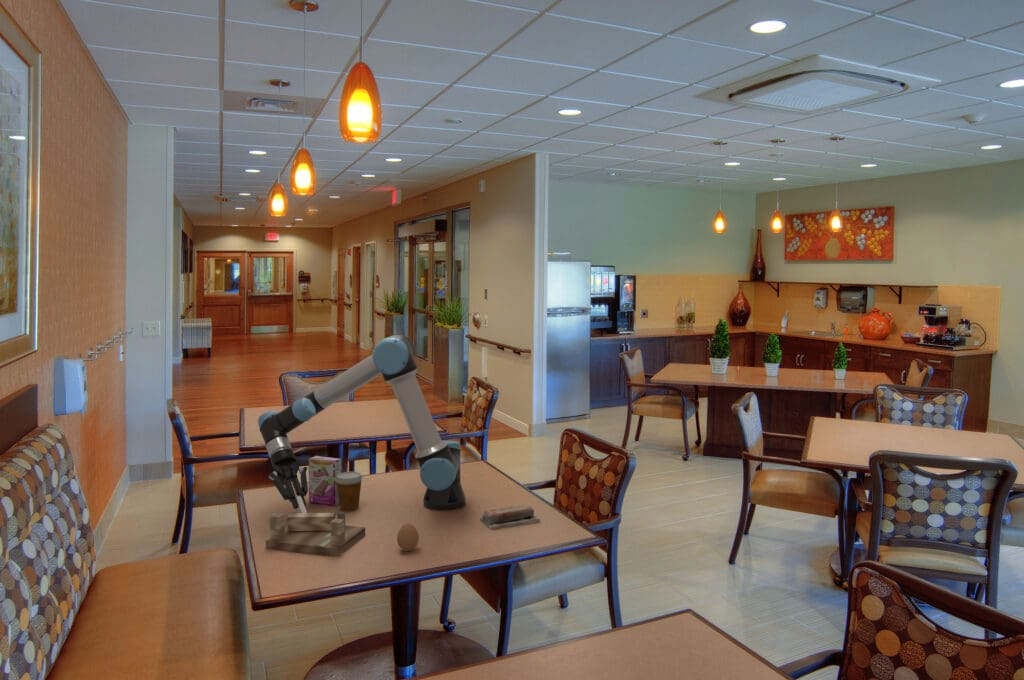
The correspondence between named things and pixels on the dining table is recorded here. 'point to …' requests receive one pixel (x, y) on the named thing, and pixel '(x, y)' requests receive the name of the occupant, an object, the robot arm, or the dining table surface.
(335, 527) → the wooden block assembly
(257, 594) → the dining table surface
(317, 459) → the candy bar box
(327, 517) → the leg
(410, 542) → the egg
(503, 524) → the stapler
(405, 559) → the dining table surface
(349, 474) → the disposable coffee cup
